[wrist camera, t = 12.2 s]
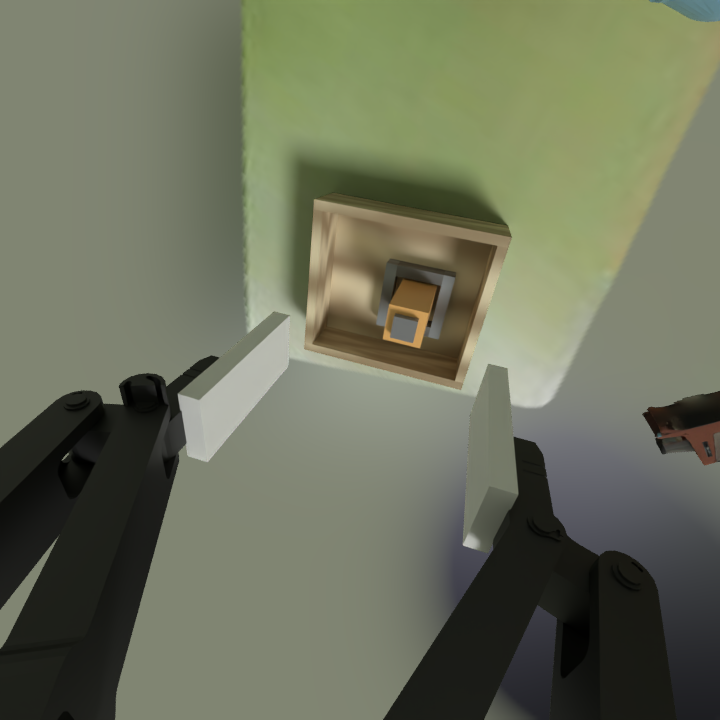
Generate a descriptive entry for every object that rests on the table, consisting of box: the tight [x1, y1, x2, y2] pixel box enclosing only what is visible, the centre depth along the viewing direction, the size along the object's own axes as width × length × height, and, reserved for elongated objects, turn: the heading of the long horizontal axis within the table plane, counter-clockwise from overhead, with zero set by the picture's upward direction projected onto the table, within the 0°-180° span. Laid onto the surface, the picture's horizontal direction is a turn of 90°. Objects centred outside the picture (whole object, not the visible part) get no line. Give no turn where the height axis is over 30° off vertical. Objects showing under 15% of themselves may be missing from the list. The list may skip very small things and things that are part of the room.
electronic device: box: [642, 391, 720, 465], centre depth 45 cm, size 4×10×8 cm
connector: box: [383, 278, 437, 348], centre depth 43 cm, size 4×4×11 cm
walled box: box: [304, 193, 512, 390], centre depth 45 cm, size 18×20×6 cm
